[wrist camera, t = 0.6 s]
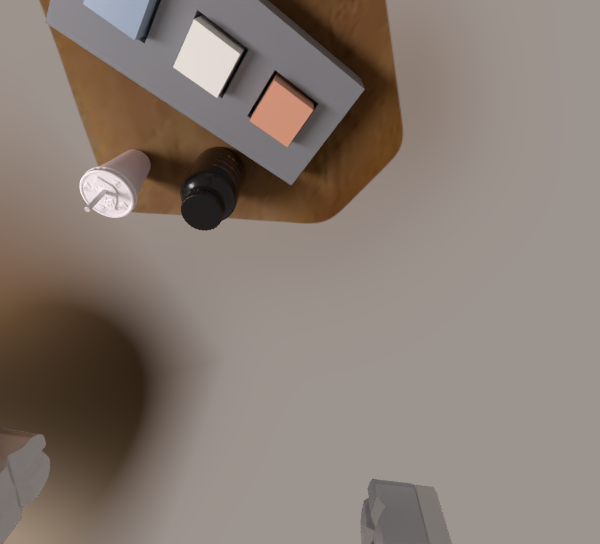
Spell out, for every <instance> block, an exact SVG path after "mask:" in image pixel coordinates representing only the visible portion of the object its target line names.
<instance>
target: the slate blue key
mask: <svg viewBox="0 0 600 544" xmlns="http://www.w3.org/2000/svg"><path fill="white" fill-rule="evenodd" d="M160 2H161V0H84V2H83V4H84V5H85V6H86V7H88V8H89V9H91V10H92V11H94V12H95V13H96V14H98V15H99V16H101V17H102V18H104V19H105V20H106V21H108V22H109V23H111V24H112V25H113V26H115V27H116V28H118V29H119V30H121V31H122V32H123V33H125V34H126V35H128V36H129V37H131V38H132V39H133V40H137V39H139V38H142V37H144V36H147V35H148V33H149V31H150V28H151V25H152V23H153V20H154V18H155V15H156V12H157V10H158V7H159V4H160Z"/></svg>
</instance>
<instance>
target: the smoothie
mask: <svg viewBox="0 0 600 544" xmlns="http://www.w3.org/2000/svg"><path fill="white" fill-rule="evenodd" d="M150 168H151V163H150V160H149V158H148V157H147V155H146V154H144V153H143V152H142V151H140V150H136V149H131V150H128V151H126V152H125V153H123V154H121V155H120V156H118V157H116V158H114V159H113V160H111V161H109V162H107V163H106V164H104V165H102V166H100V167H95V168H91V169H90V170H88V171H87V172H86V173H85V174H84V176H83V177H82V178H81V181H80V192H81V195H82V197H83V199H84V200H85V202H86V203H87V204H88V205H87V206H86V207H85V211H87V212H89V211H90V210H91V209H93V210H95V211H96V212H98V213H100V214H102V215H104V216H107V217H112V218H120V217H124V216H126V215H128V214H129V213H130V212H131V211H132V210H133V209H134V208H135V206H136V203H137V196H138V194H139V192H140V190H141V187H142V185H143V183H144V181H145V179H146V177H147V175H148V173H149V171H150Z"/></svg>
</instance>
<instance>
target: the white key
mask: <svg viewBox="0 0 600 544" xmlns="http://www.w3.org/2000/svg"><path fill="white" fill-rule="evenodd" d="M245 49H246V47H245V46H243V45H242V44H241V43H239V42H238V41H237V40H236V39H234V38H233V37H232V36H230V35H229V34H228V33H227V32H225V31H224V30H223V29H221V28H220V27H219V26H218V25H216V24H215V23H214V22H212V21H211V20H210V19H208V18H207V17H206V16H205V15H202V16H200V17H197V18H195V19H194V20H193V22H192V25H191V27H190V29H189V31H188V34H187V36H186V38H185V41H184V43H183V45H182V47H181V50H180V52H179V54H178V57H177V59H176V61H175V63H174V66H173V68H175V69H176V70H178V71H179V72H180V73H182V74H183V75H185V76H186V77H188V78H189V79H190V80H192V81H193V82H195V83H196V84H198V85H199V86H200V87H202V88H203V89H205V90H206V91H208V92H209V93H210V94H212V95H213V96H215V97H216V98H217V97H218V96H219V95H220V93H221V92H222V91H223V89H224V88H225V86H226V85H227V83H228V81H229V79H230V77H231V75H232V73H233V72H234V70H235V68H236V66H237V64H238V62H239V60H240V58H241V57H242V55H243V53H244V51H245Z"/></svg>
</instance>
